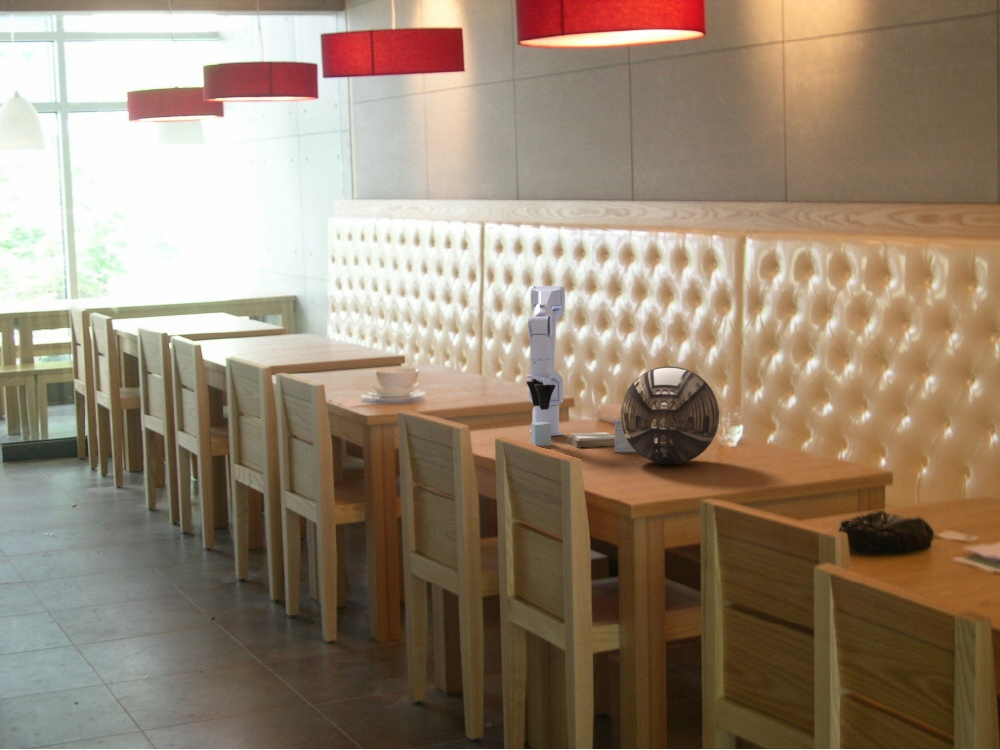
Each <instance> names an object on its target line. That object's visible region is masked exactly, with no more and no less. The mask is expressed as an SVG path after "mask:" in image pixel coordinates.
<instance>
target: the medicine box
mask: <svg viewBox="0 0 1000 750" xmlns="http://www.w3.org/2000/svg"><path fill="white" fill-rule="evenodd" d="M614 436H615V446H614V453H615V452H617V453H637V452H636V451H635V450H634V449H633V447H632V446H631V445H630V444H629V442H628V441H627V439H626V437H625V435H624V432H623V429H622V425H621V418H615V420H614Z"/></svg>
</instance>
